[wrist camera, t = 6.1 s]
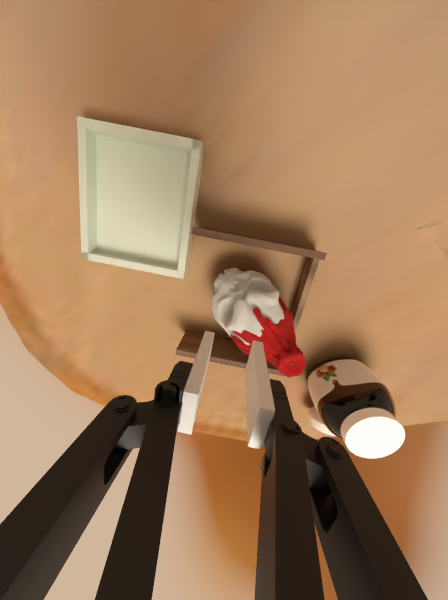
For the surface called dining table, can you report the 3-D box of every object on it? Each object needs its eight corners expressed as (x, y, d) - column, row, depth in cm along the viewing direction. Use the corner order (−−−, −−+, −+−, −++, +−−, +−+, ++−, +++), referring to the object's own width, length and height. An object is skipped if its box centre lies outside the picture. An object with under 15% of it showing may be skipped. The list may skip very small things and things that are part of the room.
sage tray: (91, 126, 27) (77, 116, 25) (204, 148, 27) (201, 140, 25) (93, 256, 33) (81, 258, 30) (187, 275, 33) (183, 279, 30)
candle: (246, 250, 29) (333, 323, 19) (264, 295, 37) (330, 362, 28) (193, 288, 29) (253, 382, 19) (223, 325, 37) (275, 403, 27)
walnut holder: (200, 227, 30) (192, 226, 25) (315, 250, 30) (333, 254, 24) (185, 334, 36) (175, 354, 30) (282, 354, 36) (290, 377, 30)
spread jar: (357, 347, 34) (413, 402, 23) (374, 399, 37) (431, 469, 26) (287, 371, 37) (308, 431, 26) (308, 418, 40) (335, 490, 29)
